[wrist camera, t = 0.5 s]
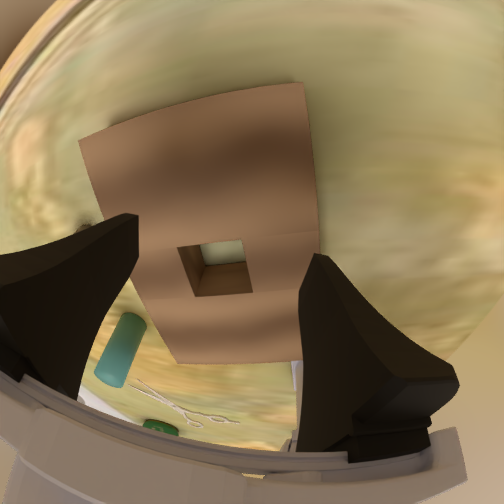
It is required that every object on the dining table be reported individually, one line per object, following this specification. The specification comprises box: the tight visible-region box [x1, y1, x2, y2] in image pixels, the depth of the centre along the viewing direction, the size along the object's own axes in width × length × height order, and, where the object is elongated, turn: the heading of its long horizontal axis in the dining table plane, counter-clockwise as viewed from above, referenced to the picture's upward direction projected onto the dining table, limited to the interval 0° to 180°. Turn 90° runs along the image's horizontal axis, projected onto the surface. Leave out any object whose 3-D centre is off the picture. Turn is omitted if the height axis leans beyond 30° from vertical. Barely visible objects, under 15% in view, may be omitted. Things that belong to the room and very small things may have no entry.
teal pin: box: [94, 313, 147, 388], centre depth 25 cm, size 3×3×8 cm
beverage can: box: [143, 420, 179, 436], centre depth 43 cm, size 8×8×12 cm
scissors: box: [125, 379, 240, 428], centre depth 41 cm, size 11×1×20 cm
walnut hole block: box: [78, 82, 320, 364], centre depth 20 cm, size 22×14×4 cm, turn 10°
